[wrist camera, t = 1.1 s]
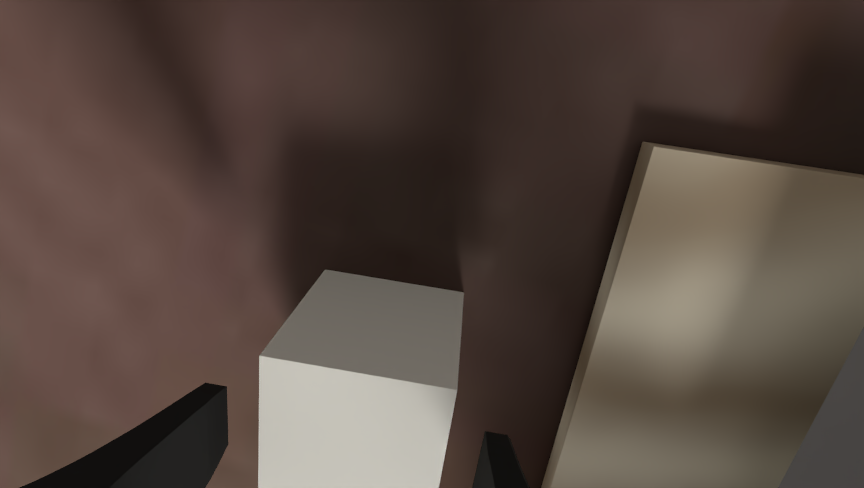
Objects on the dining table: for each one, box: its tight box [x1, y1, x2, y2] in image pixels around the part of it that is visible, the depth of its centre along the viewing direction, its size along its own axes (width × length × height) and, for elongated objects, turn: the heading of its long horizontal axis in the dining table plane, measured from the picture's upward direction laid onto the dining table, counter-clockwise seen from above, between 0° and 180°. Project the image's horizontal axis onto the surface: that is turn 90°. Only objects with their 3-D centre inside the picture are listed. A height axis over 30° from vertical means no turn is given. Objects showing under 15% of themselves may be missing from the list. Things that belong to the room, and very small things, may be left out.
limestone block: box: [258, 269, 464, 488], centre depth 15 cm, size 5×5×6 cm
